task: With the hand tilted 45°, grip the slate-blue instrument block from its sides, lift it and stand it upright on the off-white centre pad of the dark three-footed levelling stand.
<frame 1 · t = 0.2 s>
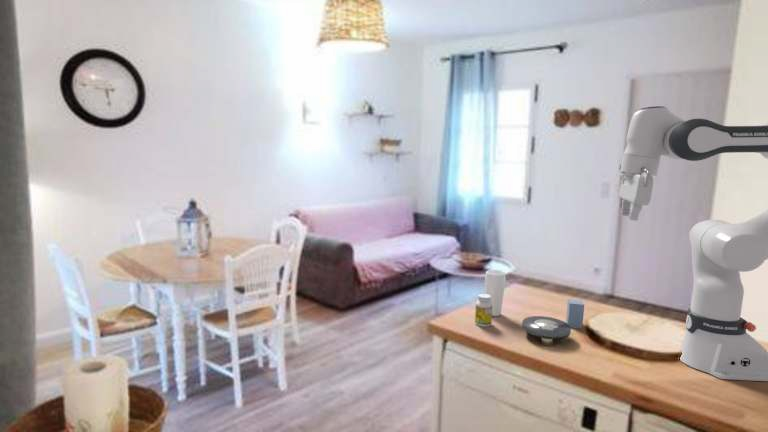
hand: (628, 217, 127), 39 cm above the kitchen counter, tool pointing down, fingers open, 8 cm apart
levelling stand: (545, 336, 142), on the kitchen counter
supplement bottle: (483, 324, 152), on the kitchen counter
instrument block: (573, 325, 152), on the kitchen counter
drinking glass: (493, 314, 160), on the kitchen counter
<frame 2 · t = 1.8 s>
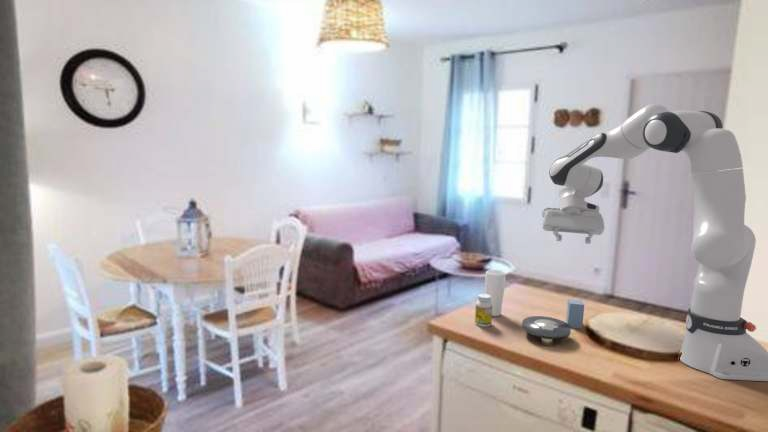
hand: (573, 241, 160), 25 cm above the kitchen counter, tool tilted 45°, fingers open, 8 cm apart
nothing on the kitchen counter moved.
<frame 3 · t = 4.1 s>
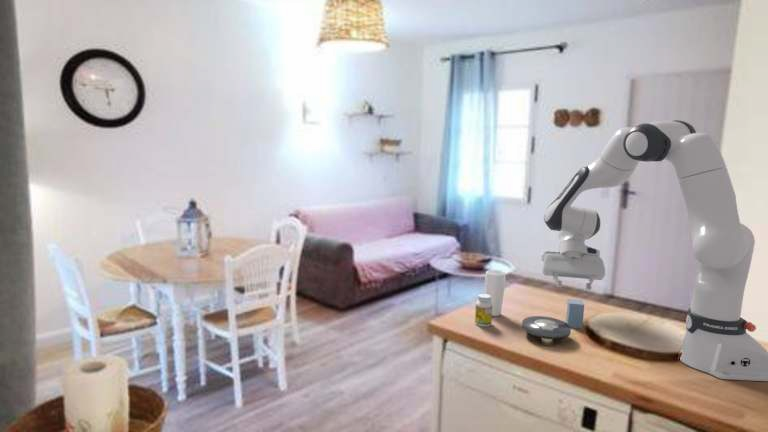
hand: (573, 287, 157), 11 cm above the kitchen counter, tool tilted 45°, fingers open, 8 cm apart
nothing on the kitchen counter moved.
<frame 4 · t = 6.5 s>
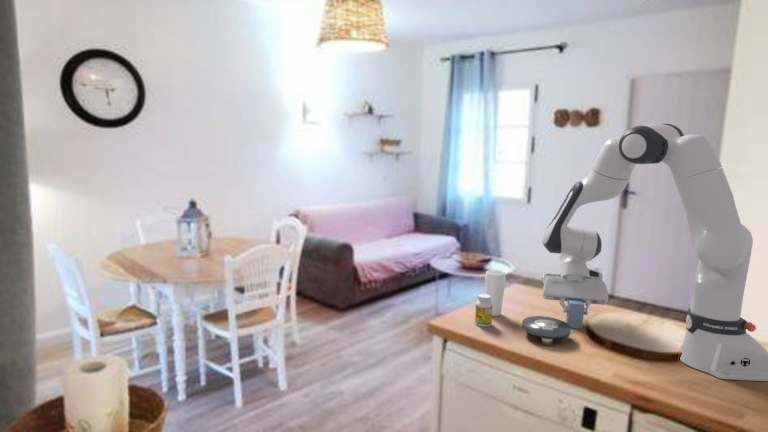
hand: (575, 312, 151), 4 cm above the kitchen counter, tool tilted 45°, fingers closed on instrument block, 4 cm apart
instrument block: (574, 325, 152), on the kitchen counter, touching gripper
everything else where it was.
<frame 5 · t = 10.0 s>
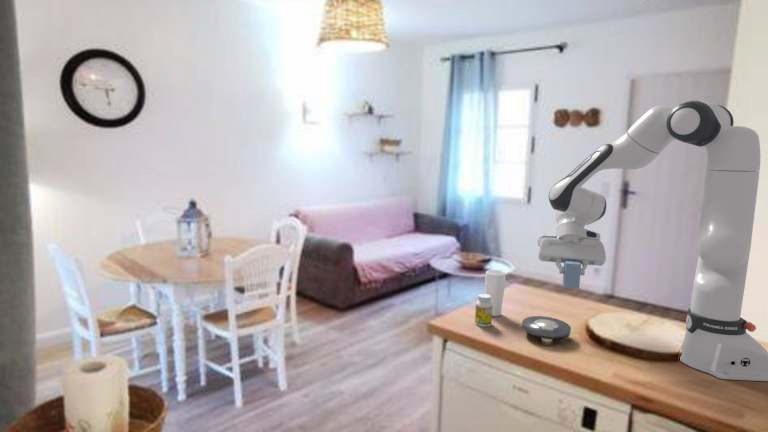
hand: (572, 273, 146), 18 cm above the kitchen counter, tool tilted 45°, fingers closed on instrument block, 4 cm apart
instrument block: (570, 286, 147), point 14 cm above the kitchen counter, touching gripper
everything else where it was.
when the fingers open (10 cm above the kitchen counter, at t = 13.3 s): instrument block drops 1 cm, resting on levelling stand.
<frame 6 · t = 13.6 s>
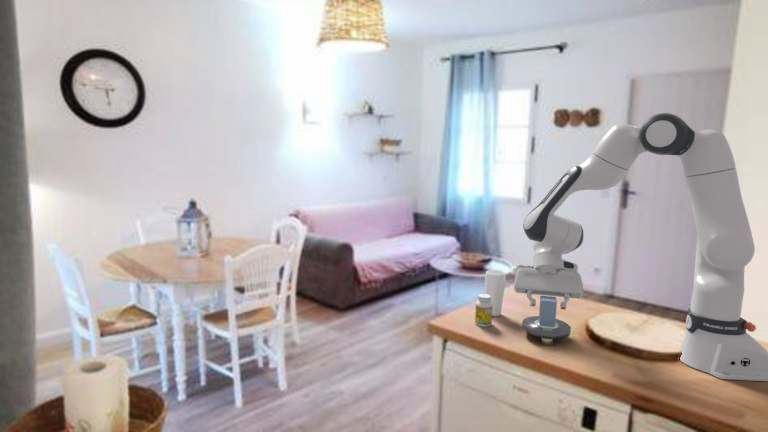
hand: (548, 307, 140), 10 cm above the kitchen counter, tool tilted 45°, fingers open, 7 cm apart
instrument block: (546, 323, 141), point 4 cm above the kitchen counter, touching levelling stand
everything else where it was.
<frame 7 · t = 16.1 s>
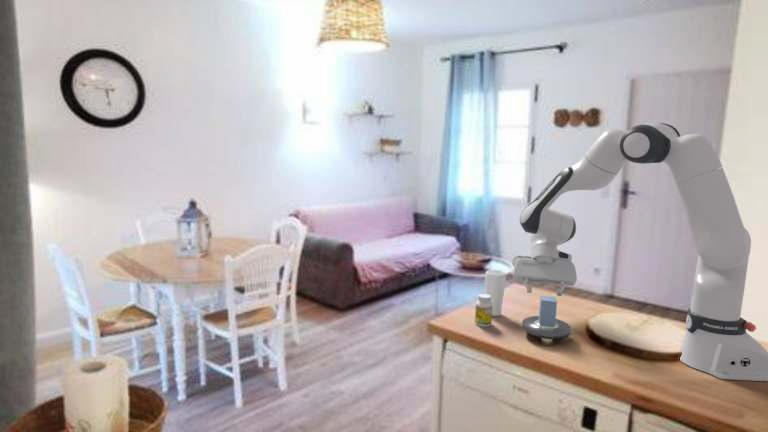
hand: (544, 293, 152), 10 cm above the kitchen counter, tool tilted 45°, fingers open, 8 cm apart
nothing on the kitchen counter moved.
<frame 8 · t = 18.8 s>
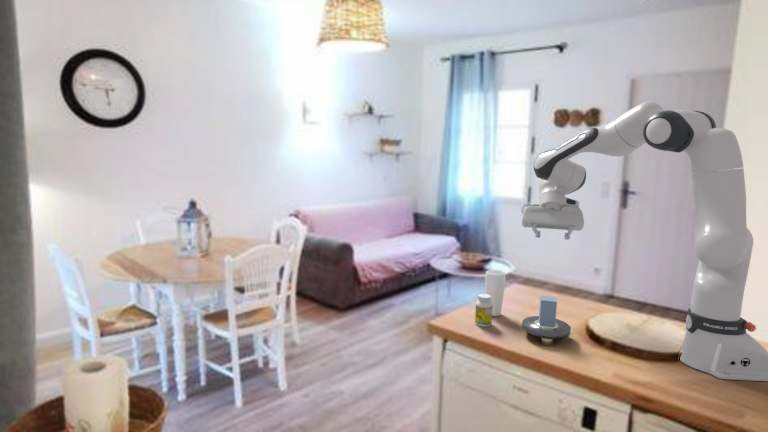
hand: (552, 237, 157), 27 cm above the kitchen counter, tool tilted 45°, fingers open, 8 cm apart
nothing on the kitchen counter moved.
at the end: instrument block inside the target area on the levelling stand (0.1 cm from its centre), point 4.3 cm above the levelling stand's base; instrument block tilted 0°; the gripper is holding nothing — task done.
